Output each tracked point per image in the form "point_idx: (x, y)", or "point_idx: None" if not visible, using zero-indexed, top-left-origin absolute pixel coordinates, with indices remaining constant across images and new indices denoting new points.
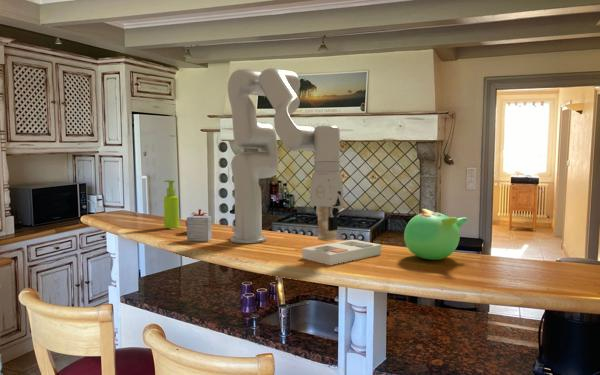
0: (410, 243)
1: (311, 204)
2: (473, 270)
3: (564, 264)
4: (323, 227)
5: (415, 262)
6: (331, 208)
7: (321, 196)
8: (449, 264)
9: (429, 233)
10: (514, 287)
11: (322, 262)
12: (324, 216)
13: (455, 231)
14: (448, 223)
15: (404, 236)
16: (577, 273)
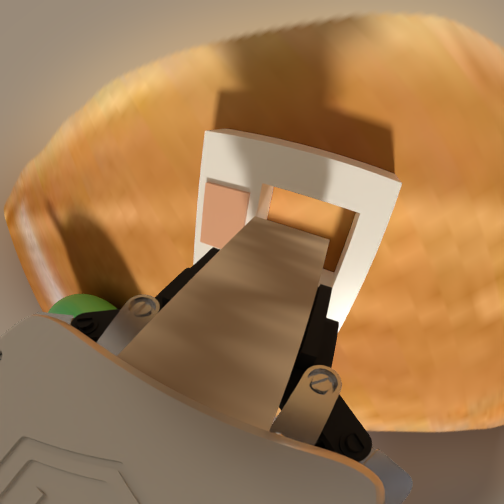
0: (93, 310)
1: (397, 480)
2: (61, 269)
3: None
4: (257, 261)
5: (117, 287)
6: (98, 343)
7: (82, 483)
8: (89, 294)
9: (50, 311)
10: (20, 210)
11: (268, 137)
12: (206, 310)
13: None
14: None
15: None
16: (39, 298)
